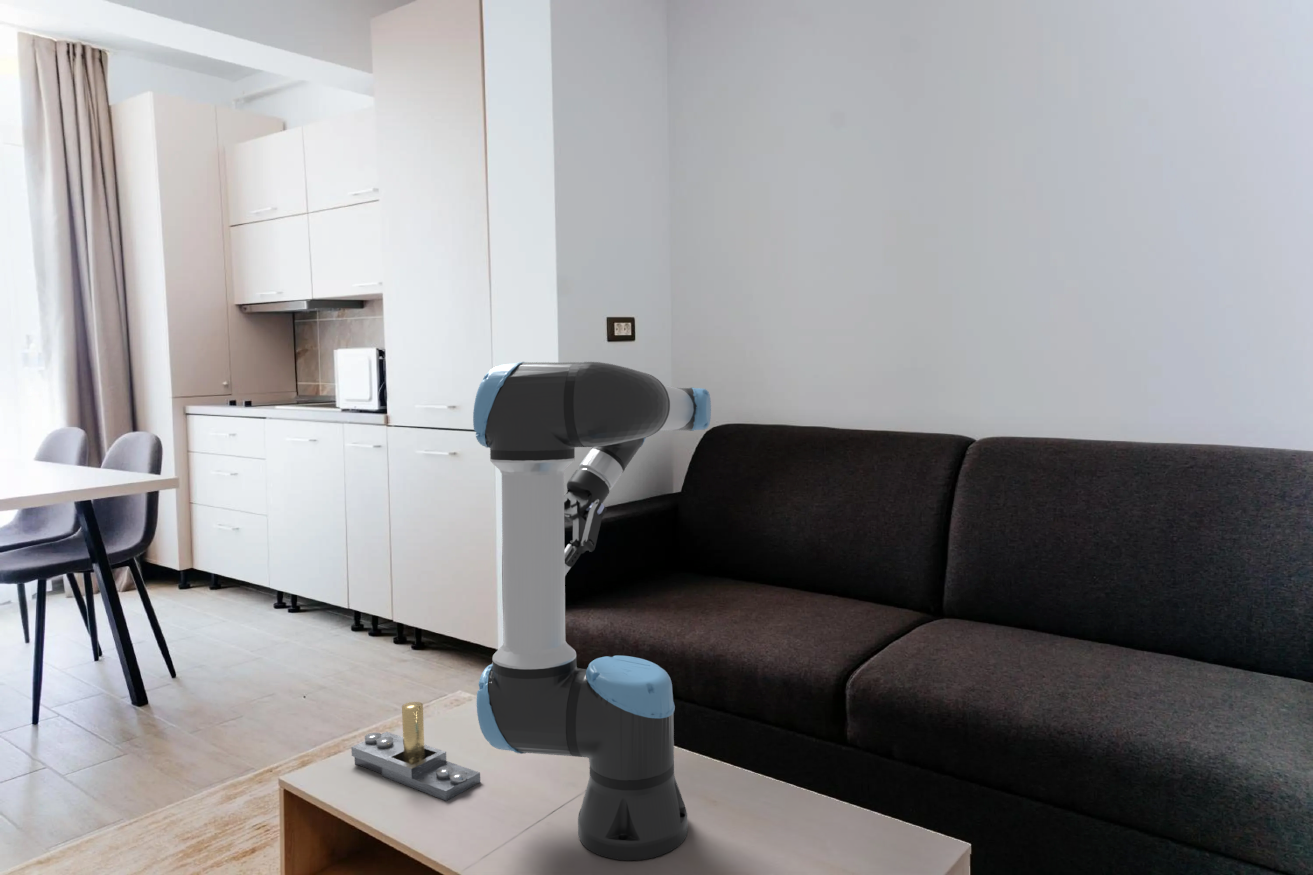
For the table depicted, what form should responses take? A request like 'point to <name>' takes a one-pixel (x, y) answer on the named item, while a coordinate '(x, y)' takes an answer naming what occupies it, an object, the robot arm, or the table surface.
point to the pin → (413, 732)
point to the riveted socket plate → (414, 766)
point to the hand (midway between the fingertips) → (529, 573)
